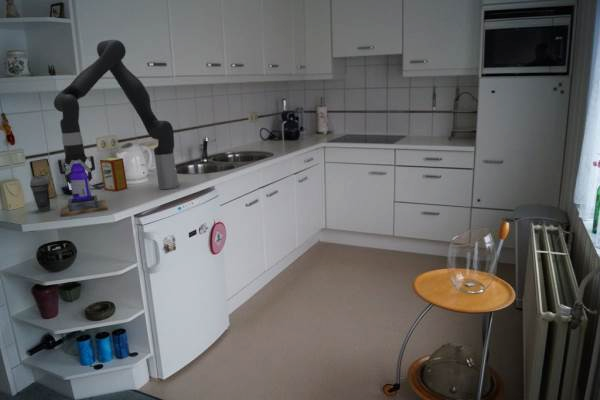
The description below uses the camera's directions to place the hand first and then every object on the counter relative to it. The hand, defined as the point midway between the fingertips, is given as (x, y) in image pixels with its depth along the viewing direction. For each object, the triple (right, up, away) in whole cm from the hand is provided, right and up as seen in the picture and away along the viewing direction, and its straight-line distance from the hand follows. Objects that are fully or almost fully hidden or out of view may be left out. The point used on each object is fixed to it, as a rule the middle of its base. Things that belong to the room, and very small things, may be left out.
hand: (79, 181), depth 204 cm
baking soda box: (0, -3, +40) cm, 40 cm away
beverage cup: (-18, -12, +5) cm, 22 cm away
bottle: (0, -8, +2) cm, 8 cm away
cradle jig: (+1, -12, +3) cm, 12 cm away
